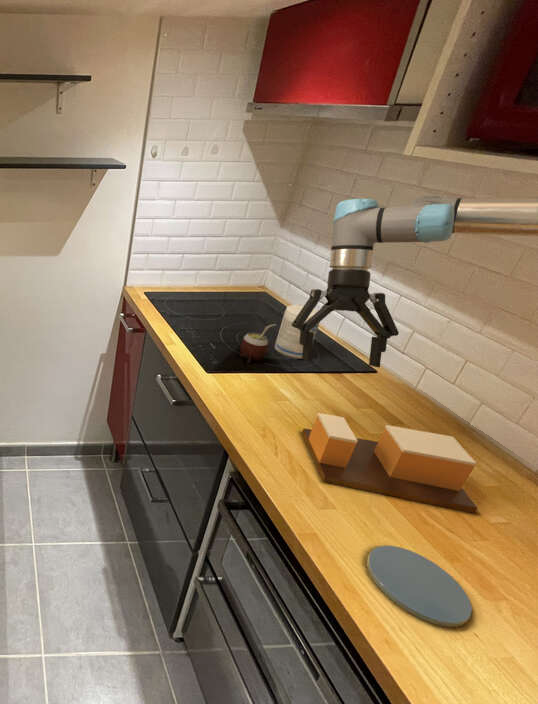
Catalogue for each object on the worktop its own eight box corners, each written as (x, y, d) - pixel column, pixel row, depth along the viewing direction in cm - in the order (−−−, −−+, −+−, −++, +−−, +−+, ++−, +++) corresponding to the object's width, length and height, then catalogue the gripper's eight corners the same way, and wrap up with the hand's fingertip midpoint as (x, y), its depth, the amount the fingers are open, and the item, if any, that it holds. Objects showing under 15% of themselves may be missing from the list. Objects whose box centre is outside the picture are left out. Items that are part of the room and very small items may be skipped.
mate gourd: (241, 350, 143) (252, 308, 137) (268, 359, 139) (281, 315, 133) (235, 360, 138) (246, 316, 132) (263, 369, 134) (276, 324, 127)
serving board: (430, 457, 101) (433, 452, 100) (475, 513, 87) (478, 508, 86) (301, 432, 108) (303, 427, 107) (323, 481, 94) (325, 476, 93)
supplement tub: (310, 362, 137) (325, 320, 131) (275, 356, 141) (288, 314, 135) (305, 348, 145) (318, 307, 139) (272, 342, 149) (284, 302, 143)
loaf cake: (438, 463, 97) (452, 436, 94) (459, 491, 90) (476, 463, 87) (373, 451, 100) (385, 424, 97) (389, 477, 93) (403, 449, 90)
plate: (462, 578, 75) (465, 574, 74) (475, 646, 65) (478, 642, 65) (367, 536, 82) (369, 532, 82) (366, 591, 73) (368, 588, 72)
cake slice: (332, 443, 102) (343, 417, 99) (345, 468, 95) (357, 440, 92) (308, 438, 104) (318, 412, 101) (319, 462, 97) (330, 435, 94)
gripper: (403, 273, 101) (393, 366, 102) (281, 267, 106) (273, 355, 107) (426, 272, 94) (415, 371, 95) (294, 265, 99) (285, 359, 100)
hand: (339, 363), depth 101 cm, fingers open, 13 cm apart
